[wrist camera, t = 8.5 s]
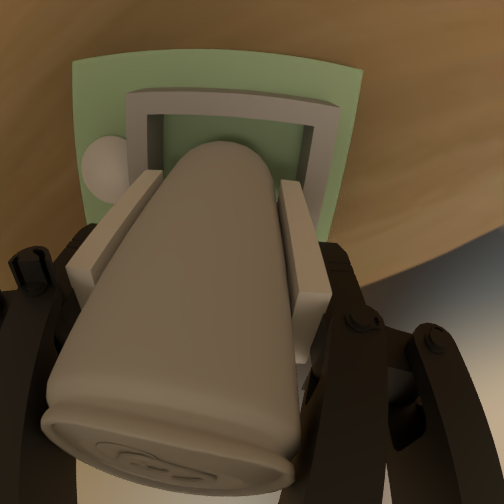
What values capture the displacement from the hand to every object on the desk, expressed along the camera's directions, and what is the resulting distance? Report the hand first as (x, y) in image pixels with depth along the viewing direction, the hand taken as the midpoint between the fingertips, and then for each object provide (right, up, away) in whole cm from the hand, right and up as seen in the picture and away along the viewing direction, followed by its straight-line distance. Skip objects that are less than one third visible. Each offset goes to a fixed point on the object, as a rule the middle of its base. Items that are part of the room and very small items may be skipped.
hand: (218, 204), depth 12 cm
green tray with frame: (-1, +3, +4) cm, 5 cm away
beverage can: (0, +1, +2) cm, 2 cm away
